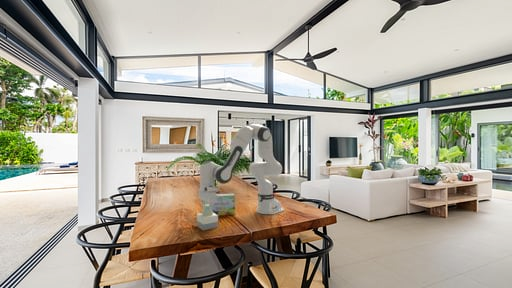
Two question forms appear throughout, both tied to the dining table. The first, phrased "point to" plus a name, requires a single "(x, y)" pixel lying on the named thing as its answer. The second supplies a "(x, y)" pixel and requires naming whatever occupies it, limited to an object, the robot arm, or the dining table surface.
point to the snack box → (224, 204)
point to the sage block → (207, 210)
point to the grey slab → (207, 225)
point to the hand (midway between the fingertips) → (206, 208)
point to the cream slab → (207, 218)
